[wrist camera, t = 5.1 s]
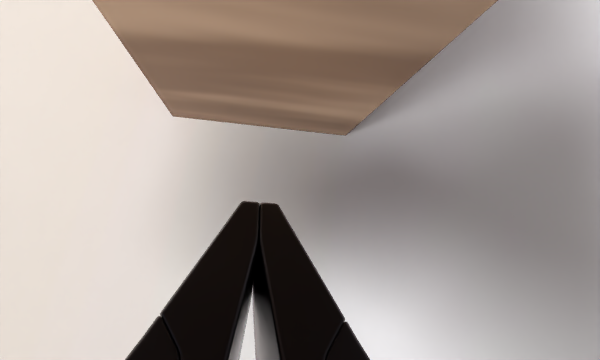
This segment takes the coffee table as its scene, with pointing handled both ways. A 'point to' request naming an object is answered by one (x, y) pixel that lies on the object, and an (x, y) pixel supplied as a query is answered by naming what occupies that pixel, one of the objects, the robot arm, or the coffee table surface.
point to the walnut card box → (284, 54)
